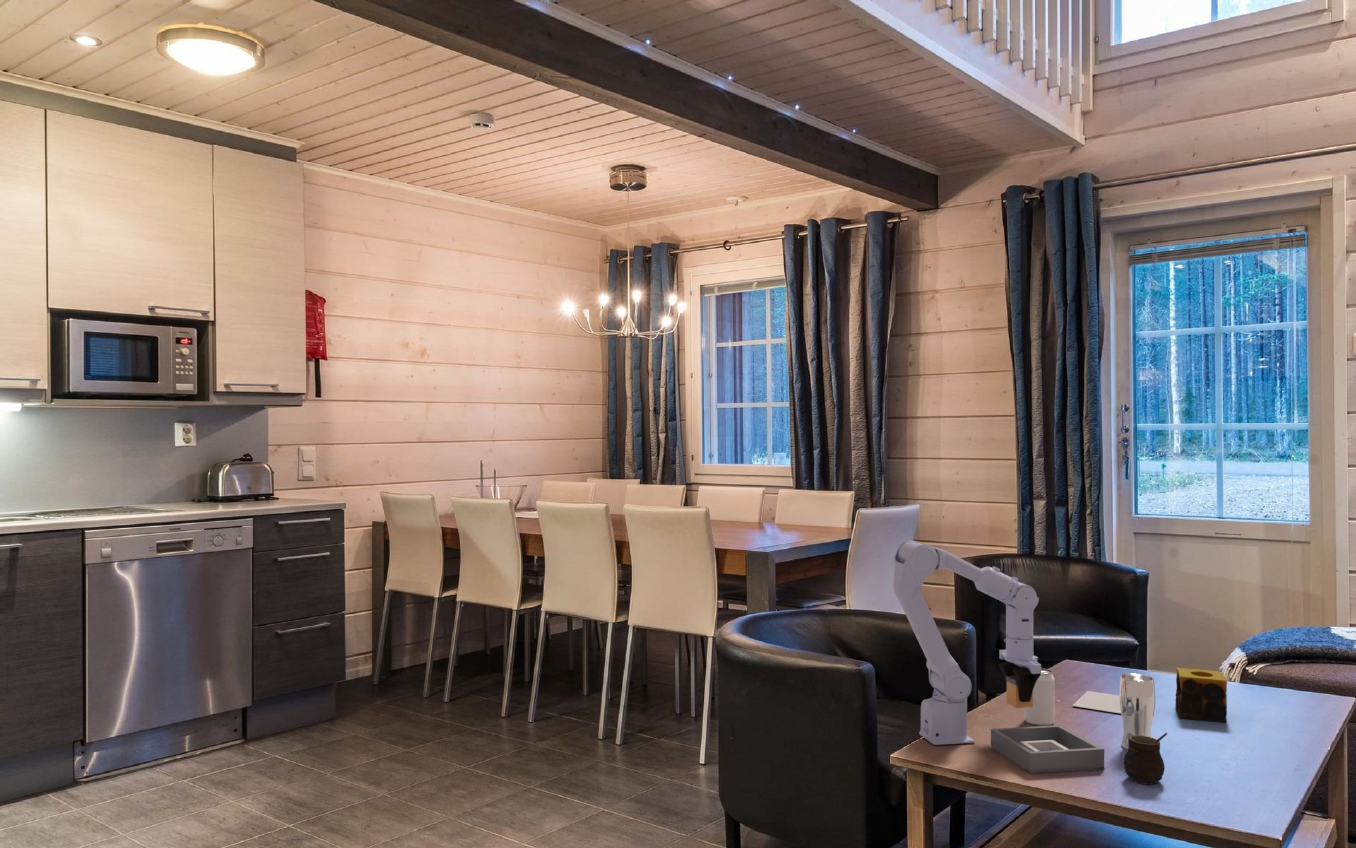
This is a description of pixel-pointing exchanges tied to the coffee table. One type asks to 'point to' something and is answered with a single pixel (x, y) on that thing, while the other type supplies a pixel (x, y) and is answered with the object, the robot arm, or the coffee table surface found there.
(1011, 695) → the plug
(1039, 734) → the box
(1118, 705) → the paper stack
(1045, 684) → the can
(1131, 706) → the beer glass
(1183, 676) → the candle
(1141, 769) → the mate gourd
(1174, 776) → the coffee table surface
